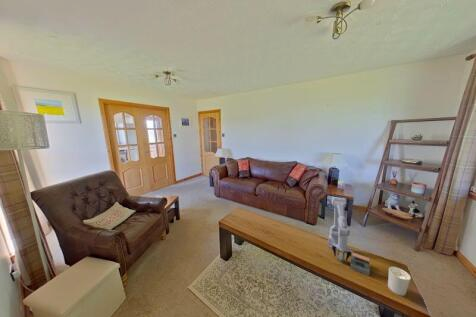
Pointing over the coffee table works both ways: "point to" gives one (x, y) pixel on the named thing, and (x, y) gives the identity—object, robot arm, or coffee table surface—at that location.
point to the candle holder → (398, 280)
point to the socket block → (360, 263)
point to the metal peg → (340, 256)
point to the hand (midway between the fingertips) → (340, 257)
